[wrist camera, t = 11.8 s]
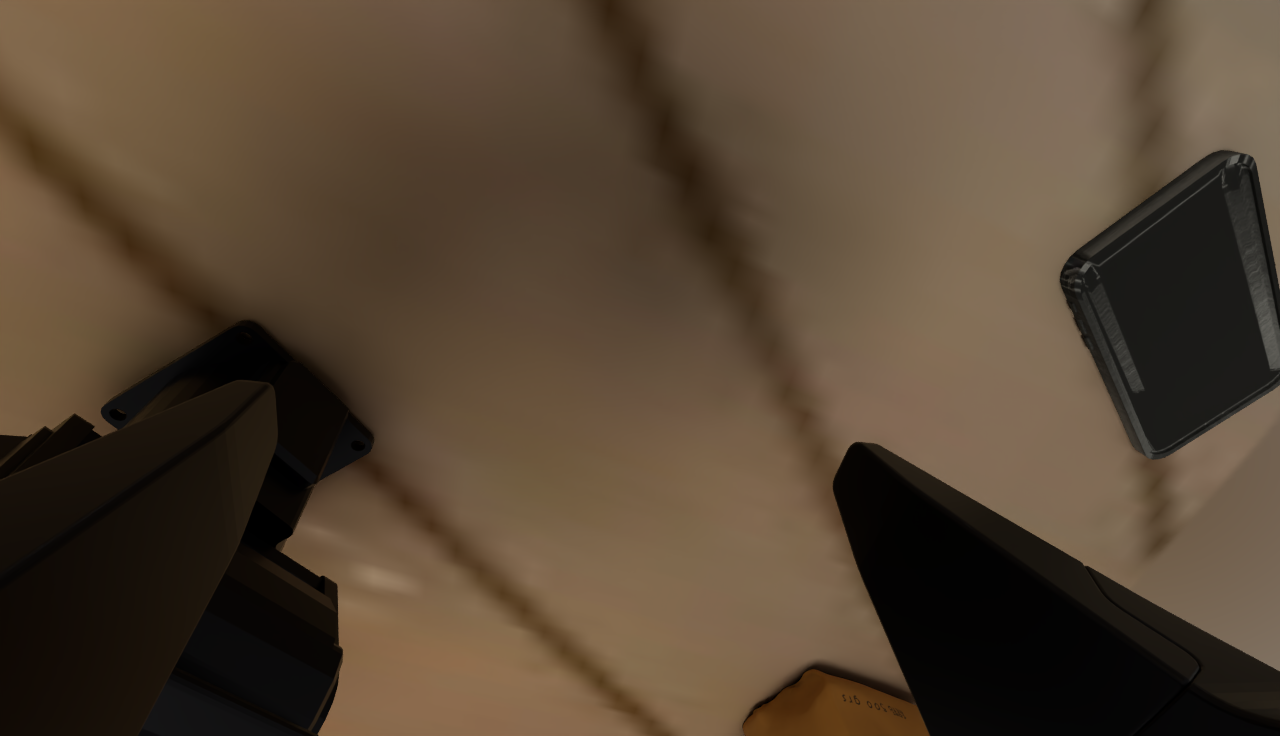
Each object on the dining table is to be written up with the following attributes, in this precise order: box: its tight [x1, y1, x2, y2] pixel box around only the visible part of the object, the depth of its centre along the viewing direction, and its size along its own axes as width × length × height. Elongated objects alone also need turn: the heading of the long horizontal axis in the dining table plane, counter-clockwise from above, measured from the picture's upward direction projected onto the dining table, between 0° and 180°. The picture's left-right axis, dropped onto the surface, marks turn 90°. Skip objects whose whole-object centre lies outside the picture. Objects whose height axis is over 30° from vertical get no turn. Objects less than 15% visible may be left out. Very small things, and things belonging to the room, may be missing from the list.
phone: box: [1060, 150, 1280, 459], centre depth 28 cm, size 8×1×15 cm
